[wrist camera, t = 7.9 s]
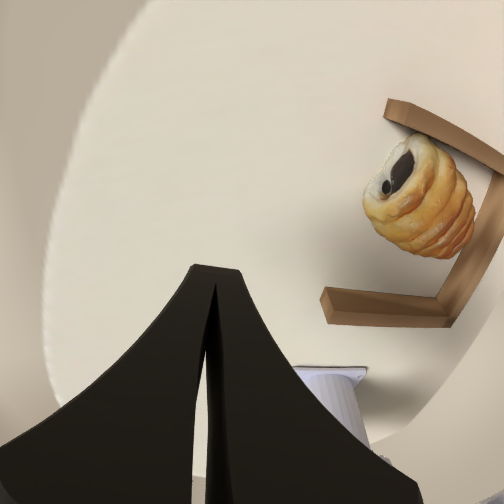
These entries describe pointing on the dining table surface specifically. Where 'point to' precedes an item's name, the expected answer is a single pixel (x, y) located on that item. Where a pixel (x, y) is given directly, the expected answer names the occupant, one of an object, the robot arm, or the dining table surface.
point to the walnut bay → (468, 263)
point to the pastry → (421, 200)
